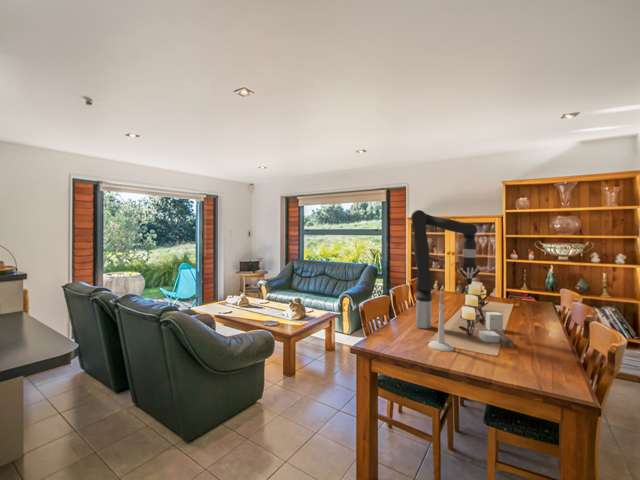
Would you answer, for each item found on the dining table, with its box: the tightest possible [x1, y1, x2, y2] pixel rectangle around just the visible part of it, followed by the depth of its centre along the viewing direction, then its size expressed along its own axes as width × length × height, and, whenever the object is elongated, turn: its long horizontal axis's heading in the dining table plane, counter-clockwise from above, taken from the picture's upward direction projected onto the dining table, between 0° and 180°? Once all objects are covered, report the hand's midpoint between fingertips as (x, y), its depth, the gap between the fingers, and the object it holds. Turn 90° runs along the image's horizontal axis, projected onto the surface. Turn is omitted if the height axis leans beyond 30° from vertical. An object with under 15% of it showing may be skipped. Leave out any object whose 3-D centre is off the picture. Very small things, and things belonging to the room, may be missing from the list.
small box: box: [485, 311, 504, 332], centre depth 195 cm, size 8×6×10 cm
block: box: [478, 330, 501, 344], centre depth 177 cm, size 8×8×4 cm
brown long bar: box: [490, 329, 514, 348], centre depth 176 cm, size 4×20×4 cm, turn 173°
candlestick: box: [427, 291, 455, 353], centre depth 165 cm, size 13×13×30 cm
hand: (468, 284), depth 192 cm, fingers closed
